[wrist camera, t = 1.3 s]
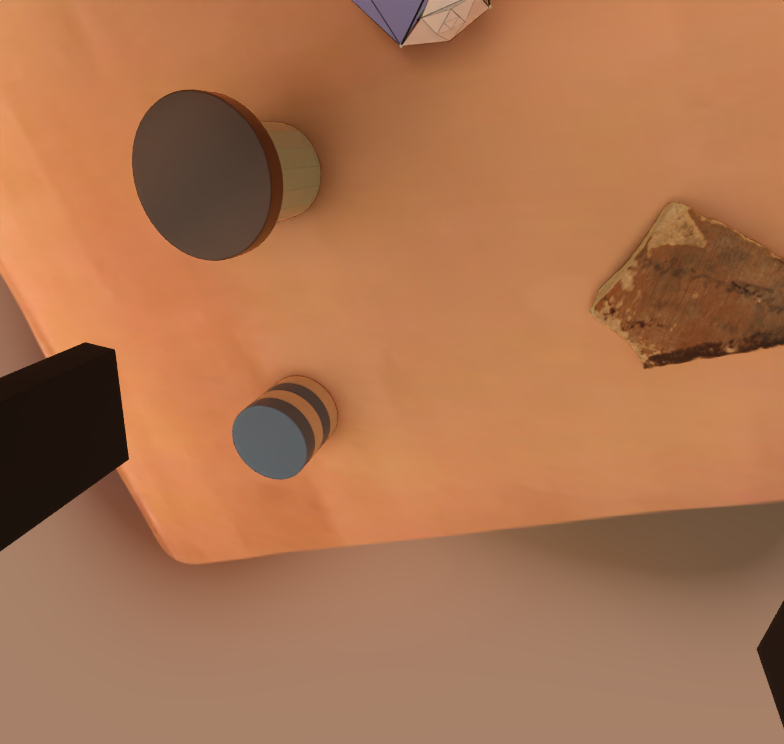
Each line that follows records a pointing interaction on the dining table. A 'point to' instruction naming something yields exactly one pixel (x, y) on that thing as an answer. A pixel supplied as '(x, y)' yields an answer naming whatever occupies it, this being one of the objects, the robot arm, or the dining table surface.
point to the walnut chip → (207, 174)
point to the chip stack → (285, 427)
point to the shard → (694, 292)
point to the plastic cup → (295, 168)
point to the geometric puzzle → (423, 18)
